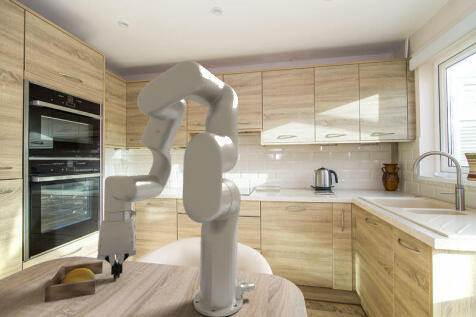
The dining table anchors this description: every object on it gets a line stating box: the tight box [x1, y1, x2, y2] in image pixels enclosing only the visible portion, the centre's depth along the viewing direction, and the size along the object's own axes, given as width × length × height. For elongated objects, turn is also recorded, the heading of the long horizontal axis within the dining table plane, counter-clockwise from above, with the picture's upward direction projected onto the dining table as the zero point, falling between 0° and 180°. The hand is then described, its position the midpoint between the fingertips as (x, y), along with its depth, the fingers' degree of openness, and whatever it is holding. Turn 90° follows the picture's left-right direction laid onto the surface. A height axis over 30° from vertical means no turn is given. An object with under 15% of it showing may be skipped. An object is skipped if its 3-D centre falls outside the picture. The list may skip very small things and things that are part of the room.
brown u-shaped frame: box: [44, 260, 104, 303], centre depth 69 cm, size 11×14×4 cm
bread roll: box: [60, 268, 95, 284], centre depth 69 cm, size 8×9×4 cm
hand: (116, 276), depth 72 cm, fingers closed
